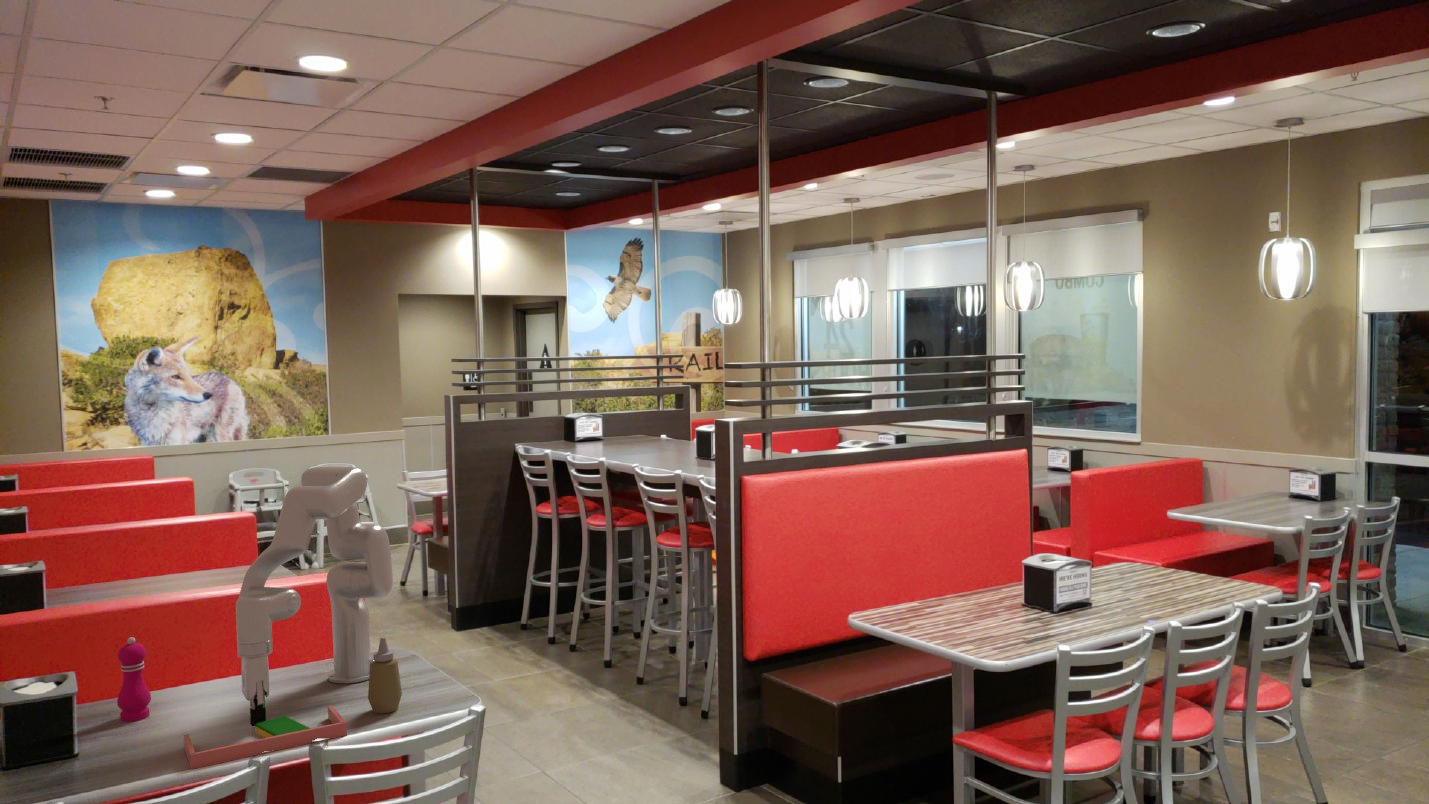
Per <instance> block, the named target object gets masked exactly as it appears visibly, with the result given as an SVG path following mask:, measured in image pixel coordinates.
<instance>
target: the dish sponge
mask: <svg viewBox="0 0 1429 804" xmlns="http://www.w3.org/2000/svg"><path fill="white" fill-rule="evenodd" d="M254 727H255V729H254V731H255V734H257V735H259V736H261V737H263V738H268V737H273V736H277V735H282V734H287V733H292V732H297V731H301V730H306V729H311V728H310V727H309V726H307V725H305V724H303V723H302V722H301V723H300V722H298V721H296V720H295V719H292V718H290V717H288V716H287V715H282V716H279V717H275V718H271V719H266V721H263V722H260V723H256V724H255V726H254Z"/></svg>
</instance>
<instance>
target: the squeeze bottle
mask: <svg viewBox="0 0 1429 804" xmlns="http://www.w3.org/2000/svg"><path fill="white" fill-rule="evenodd" d="M379 639H380V640H379V644H378V650H377V651H376V652H374V653H373V659H374V661H373V662H372V663H371V664H370V674H369V679H368V691H367V699H368V702H369V705H370V707H371V709H372V712H373V713H375V714H388V713H389V714H390V713H392V712H395V711H397V710H399V705H400V702H401V698H402V694H403V692H402V684H401V676H400V669H399V663H398V660H396V659H395V658H394V651H393V650H389V647H388V646H389V645H388V643H387V639H386V637H380V638H379Z"/></svg>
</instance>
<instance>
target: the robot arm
mask: <svg viewBox="0 0 1429 804" xmlns="http://www.w3.org/2000/svg"><path fill="white" fill-rule="evenodd" d="M300 481H301V482H300V483H301V486H295V487H293V488H290V489H289V490H288V491H287V493H285V496H284V499H283V503H282V506H281V511H280V513H279V516H278V517H279V518H278V521H277V524H276V529H275V531H274V535H273V537H272V538H273V539H272V540H271V541H272V542H271V543H270V544H269V546H268V547H267V548H265V549H264V550H263V551H262V552H261V553H260V554H259V555H258V557H256V559H255V560H254V561H253V562H252V563H251V564H250V566H249V567H248V569H247V570H246V572H245V575H244V577H243V581H242V583H241V587H240V592H239V596H238V598H237V600H236V602H235V620H236V621H235V623H236V626H235V627H236V641H237V642H236V645H237V657H238V658H240V659H241V692H242V695H243V696H244V698H245V700H246V701H248V702H249V705H250V708H249V719H250V721H249V722H250V725H251V727H256V726H255V724H256V723H260V722H263V721H267V711H266V710H267V709H266V698H268V697H269V696H270V671H269V670H270V669H269V655H270V654H272V653H273V651H274V650H273V628H272V627H273V626H272V623H273V622H276V621H282V620H283V621H284V620H286V619H289V618H291V617H293V616H295V614H297V613H298V611H299V609H300V608H301V605H302V604H301V603H302V598H301V595H300V594H299V592H298V591H296V590H295V589H293V588H288V587H275V586H265V585H266V583H267V580H268V579H269V577H270V575H271V574H272V573H273V572H274V571H275V570H276V569H277V568H279V567H280V566H282V565H283V564H285V563H287V562H289V561H290V562H291V560H293V559H296V558H298V557H300V556H302V555H304V554H305V553H306V552H307V551H308V549H309V546H310V541H311V539H312V535H313V531H314V527H315V524H316V520H325V525H326V533H327V542H328V549H329V552H330V554H331V555H332V556H333V557H334V558H336V559H342V560H365V561H364V562H359V561H357V562H356V561H355V562H354V561H353V562H351V561H347V562H339V563H336V564H334V565H333V566H331V567H330V568H329V571H328V572H327V575H326V588H327V591H328V595H329V600H330V606H331V607H330V608H331V622H332V623H331V625H332V645H333V646H332V648H333V651H332V652H333V669H334V671H331V672H330V673H329V674H328V681H329V682H331V683H334V684H354V683H359V682H364V681H365V682H366V681H369V674H370V664H371V663H372V662H373V661H374V657H372V656H371V655H372V654H371V636H370V635H371V634H370V632H371V630H370V628H371V627H370V611H369V608H368V605H367V604H366V602H365V600H364V599H382V598H384V597H386V596H388V595H389V594H390V592H391V590H392V587H393V580H394V577H393V576H394V575H393V564H392V556H391V555H392V554H391V545H390V538H389V536H388V533H387V531H386V530H385V528H384V527H382V526H381V525H379V524H371V523H369V524H368V523H367V524H366V523H365V524H364V523H362V522H361V520H360V514H359V513H360V512H359V507H358V503H357V502H358V501H359V500H360V499H361V498H362V497H363V495H364V494H365V492H366V490H367V488H368V487H367V486H368V478H367V475H366V473H365V472H364V470H362V469H361V468H359V467H355V466H354V467H353V466H316V467H311V468H308V469H306V470H304V472H303V473H302V474H301V480H300Z"/></svg>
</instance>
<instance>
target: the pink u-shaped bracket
mask: <svg viewBox="0 0 1429 804" xmlns="http://www.w3.org/2000/svg"><path fill="white" fill-rule="evenodd" d="M327 715H328V720H329V721H330V723H331V724H327V725H320V726H316V727H312V728H311V729H306V730H301V731H297V732H292V733H287V734H282V735H277V736H273V737H268V738H265V737H263V738H260V739H253V740H249V741H244V742H240V743H234V744H231V745H225V746H221V747H216V748H210V749H206V750H202V751H198V752H196V751H195V750H196V749H195V748H194V745H193V742H192V739H191V737H190V733H187V734H183V745H184V747H183V748H184V751H185V754H186V758H187V761H188V764H189V767H190V769H191V770H192V769H193V770H194V769H197V768H198V769H199V768H202V767H207V766H211V765H216V764H219V763H221V764H222V763H225V762H230V761H234V760H238V759H243V758H248V757H253V756H252V755H254V756H256V755H255V754H258V755H261V754H260V753H262V752H264V751H272V750H277V751H281V750H280V749H282V750H284V749H286V750H287V749H290V748H294V747H295V746H296V747H299V746H304V744H305V745H309V744H311V743H310V742H312V740H315V739H317V738H333V739H335V738H334V737H337V738H341V736H342V737H345V736H344V735H346V736H347V735H348V729H347V727H348V726H347V721H346V720H345V719H344V718H343V716H341V714H340V713H339V712H338V711H337V710H336V709H335V707H334V706H333V705H328V706H327ZM308 743H309V744H308ZM272 752H273V751H272Z"/></svg>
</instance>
